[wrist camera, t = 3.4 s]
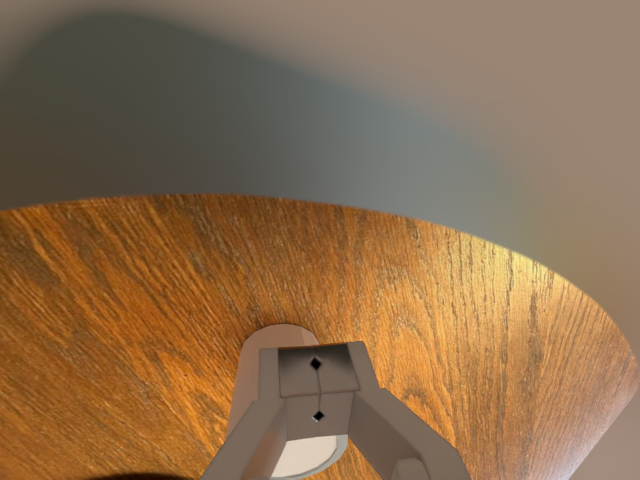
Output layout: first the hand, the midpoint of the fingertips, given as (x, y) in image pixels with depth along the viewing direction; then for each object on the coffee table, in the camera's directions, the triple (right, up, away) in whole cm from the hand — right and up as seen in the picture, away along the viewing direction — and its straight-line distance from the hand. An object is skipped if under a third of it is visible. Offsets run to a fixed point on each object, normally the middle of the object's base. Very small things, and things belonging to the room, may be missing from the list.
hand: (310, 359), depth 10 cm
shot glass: (-3, -4, +15) cm, 16 cm away
